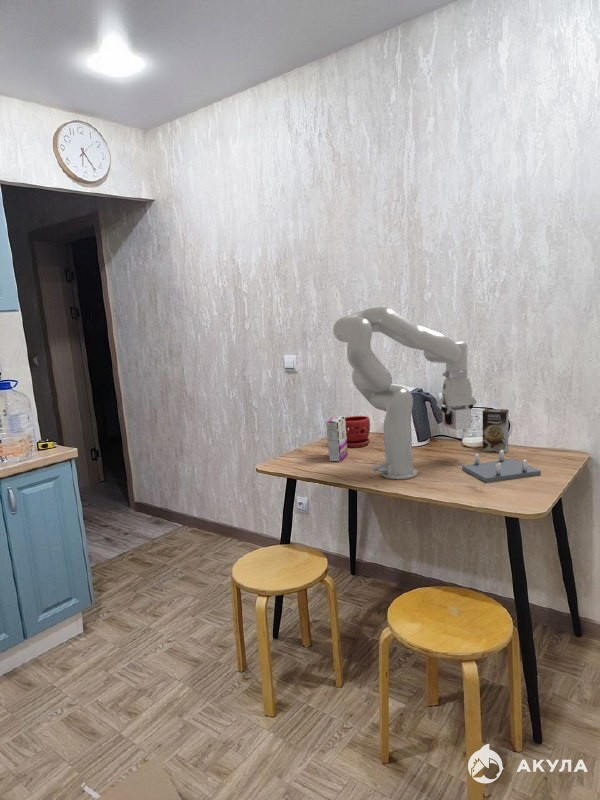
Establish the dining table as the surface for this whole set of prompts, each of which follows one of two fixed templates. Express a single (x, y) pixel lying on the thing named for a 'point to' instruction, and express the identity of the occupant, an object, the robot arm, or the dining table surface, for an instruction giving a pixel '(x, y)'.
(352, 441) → the plant pot
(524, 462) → the guide pins
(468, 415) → the block
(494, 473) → the pin board
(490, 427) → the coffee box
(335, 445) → the candy bar box
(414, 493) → the dining table surface
